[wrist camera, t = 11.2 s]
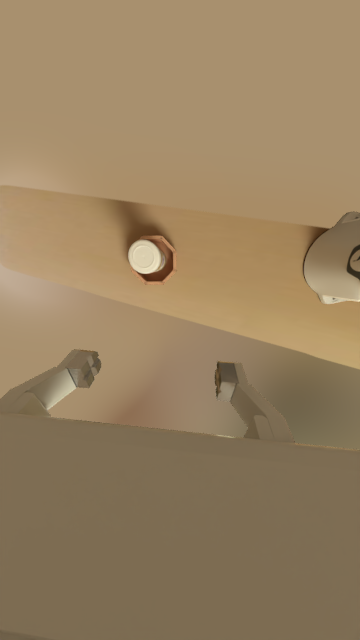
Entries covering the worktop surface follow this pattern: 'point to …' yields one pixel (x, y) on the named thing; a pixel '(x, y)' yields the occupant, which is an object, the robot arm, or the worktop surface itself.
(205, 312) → the worktop surface
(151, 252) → the sprinkles bottle
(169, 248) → the bowl
